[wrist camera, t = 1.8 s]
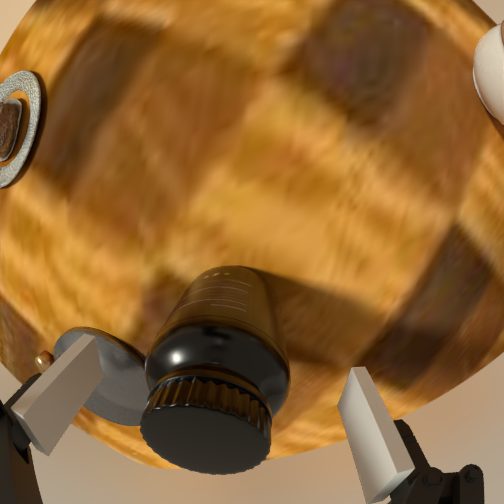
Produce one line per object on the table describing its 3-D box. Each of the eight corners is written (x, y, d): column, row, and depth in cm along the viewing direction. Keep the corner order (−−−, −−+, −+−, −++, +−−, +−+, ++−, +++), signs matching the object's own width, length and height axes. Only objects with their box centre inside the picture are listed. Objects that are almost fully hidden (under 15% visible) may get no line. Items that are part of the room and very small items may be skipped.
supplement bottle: (286, 339, 20) (306, 479, 8) (200, 352, 20) (158, 481, 9) (270, 252, 18) (286, 370, 7) (173, 271, 19) (80, 380, 7)
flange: (29, 308, 20) (20, 314, 19) (190, 348, 20) (186, 359, 19) (57, 393, 23) (51, 400, 22) (195, 435, 23) (192, 445, 22)
